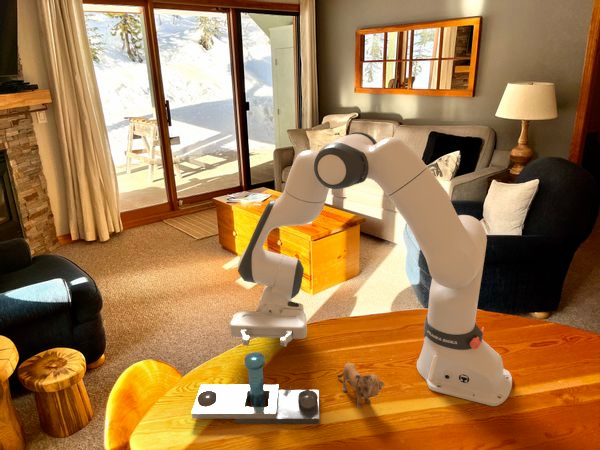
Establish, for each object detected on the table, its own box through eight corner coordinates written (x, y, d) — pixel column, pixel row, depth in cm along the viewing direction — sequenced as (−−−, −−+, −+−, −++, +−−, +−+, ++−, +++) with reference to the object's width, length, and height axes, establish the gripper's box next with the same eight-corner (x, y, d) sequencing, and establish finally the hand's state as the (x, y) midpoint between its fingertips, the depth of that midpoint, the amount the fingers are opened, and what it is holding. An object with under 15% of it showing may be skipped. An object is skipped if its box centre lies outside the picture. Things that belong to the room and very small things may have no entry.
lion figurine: (386, 408, 105) (387, 376, 102) (368, 418, 102) (369, 386, 99) (345, 373, 117) (345, 344, 113) (328, 382, 114) (328, 352, 111)
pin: (271, 406, 106) (268, 356, 101) (259, 418, 103) (255, 367, 98) (257, 399, 109) (253, 350, 104) (244, 410, 106) (240, 360, 100)
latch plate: (318, 394, 110) (318, 383, 108) (319, 423, 101) (319, 411, 100) (202, 395, 111) (200, 383, 109) (193, 423, 102) (191, 411, 101)
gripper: (234, 302, 126) (221, 331, 113) (308, 304, 124) (304, 334, 111) (235, 321, 128) (223, 352, 115) (309, 324, 126) (305, 355, 114)
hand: (264, 343), depth 113 cm, fingers open, 8 cm apart
